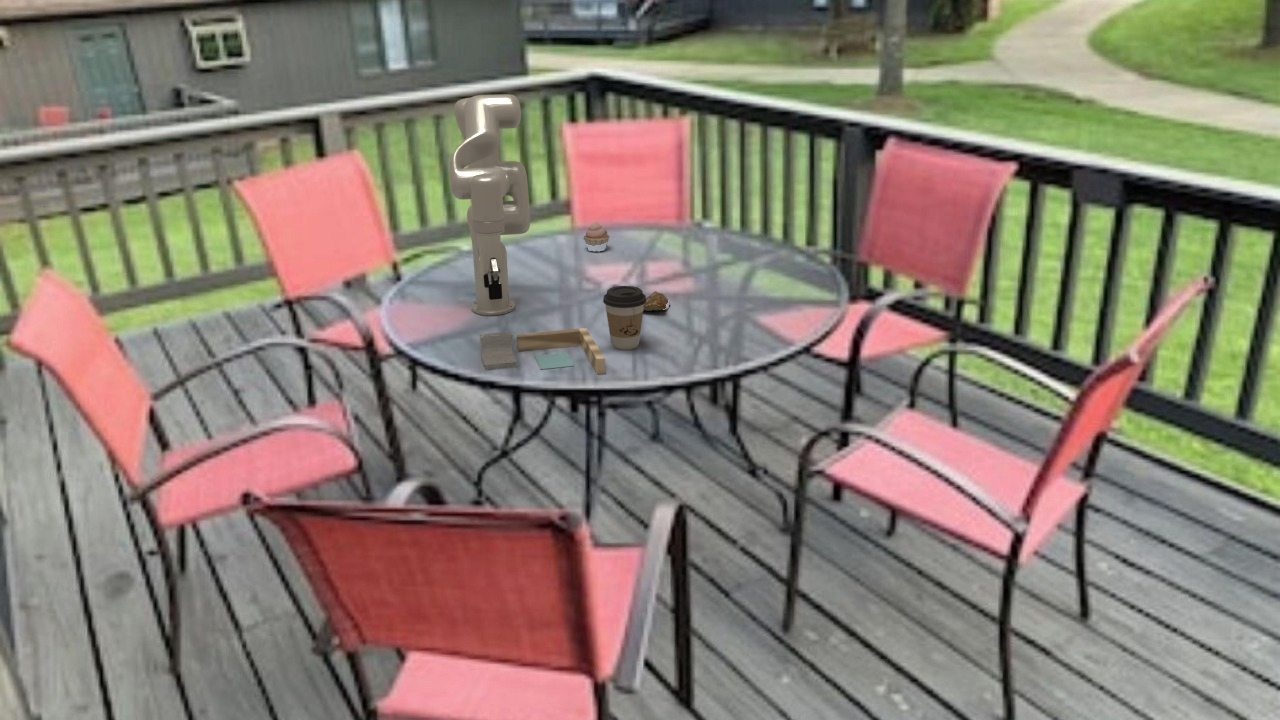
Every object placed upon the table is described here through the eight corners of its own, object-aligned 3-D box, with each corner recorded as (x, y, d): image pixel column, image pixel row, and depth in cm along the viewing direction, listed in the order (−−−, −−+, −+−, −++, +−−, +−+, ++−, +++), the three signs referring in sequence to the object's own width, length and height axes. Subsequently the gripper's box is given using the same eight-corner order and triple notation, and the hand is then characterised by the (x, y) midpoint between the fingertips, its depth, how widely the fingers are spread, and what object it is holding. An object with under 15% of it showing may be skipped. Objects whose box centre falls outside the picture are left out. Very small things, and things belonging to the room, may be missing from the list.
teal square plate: (534, 356, 256) (534, 355, 256) (567, 353, 258) (567, 352, 258) (540, 369, 248) (540, 369, 248) (574, 366, 250) (574, 365, 250)
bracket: (512, 357, 256) (511, 331, 254) (516, 367, 250) (515, 341, 247) (481, 360, 254) (479, 334, 252) (484, 370, 248) (483, 344, 246)
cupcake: (613, 247, 348) (613, 219, 344) (605, 254, 340) (604, 226, 336) (588, 245, 350) (587, 217, 347) (579, 252, 342) (578, 224, 338)
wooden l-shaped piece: (517, 348, 261) (516, 334, 260) (586, 341, 266) (585, 327, 264) (531, 381, 242) (530, 366, 240) (605, 373, 246) (604, 358, 245)
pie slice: (636, 300, 282) (637, 289, 296) (636, 315, 283) (637, 303, 297) (670, 300, 281) (669, 289, 296) (670, 315, 283) (669, 303, 297)
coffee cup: (613, 355, 257) (612, 300, 251) (597, 340, 266) (596, 287, 260) (653, 348, 261) (653, 294, 255) (636, 334, 270) (636, 282, 265)
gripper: (469, 218, 248) (474, 284, 254) (477, 236, 232) (482, 305, 239) (499, 216, 249) (503, 281, 256) (509, 233, 234) (513, 302, 241)
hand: (493, 292), depth 247 cm, fingers open, 9 cm apart
